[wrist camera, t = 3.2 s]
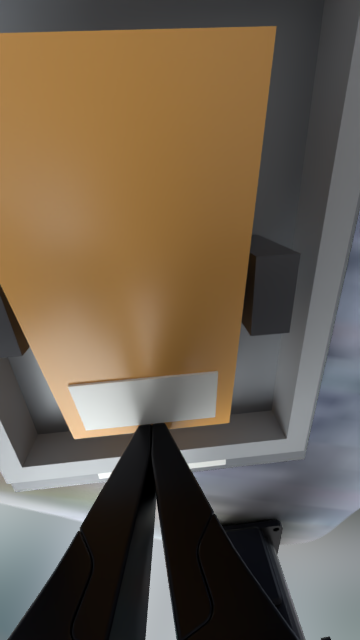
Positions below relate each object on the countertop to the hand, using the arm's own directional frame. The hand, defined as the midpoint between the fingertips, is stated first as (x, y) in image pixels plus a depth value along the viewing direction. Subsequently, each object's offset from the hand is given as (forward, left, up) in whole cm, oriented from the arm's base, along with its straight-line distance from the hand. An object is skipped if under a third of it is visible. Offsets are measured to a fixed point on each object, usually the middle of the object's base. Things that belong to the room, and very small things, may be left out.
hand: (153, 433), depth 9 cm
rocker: (+5, 0, 0) cm, 5 cm away
